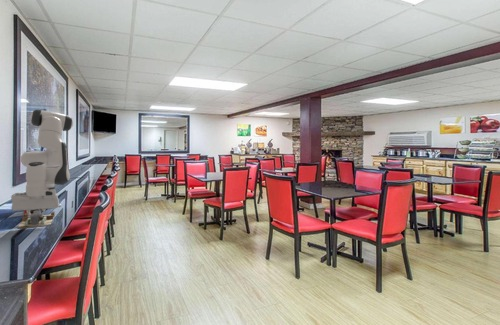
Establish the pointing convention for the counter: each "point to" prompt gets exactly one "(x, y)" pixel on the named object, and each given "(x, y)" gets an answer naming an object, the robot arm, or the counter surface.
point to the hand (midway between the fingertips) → (36, 217)
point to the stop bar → (36, 217)
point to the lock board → (44, 220)
